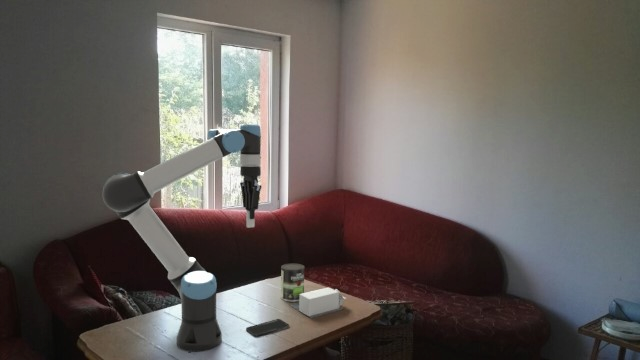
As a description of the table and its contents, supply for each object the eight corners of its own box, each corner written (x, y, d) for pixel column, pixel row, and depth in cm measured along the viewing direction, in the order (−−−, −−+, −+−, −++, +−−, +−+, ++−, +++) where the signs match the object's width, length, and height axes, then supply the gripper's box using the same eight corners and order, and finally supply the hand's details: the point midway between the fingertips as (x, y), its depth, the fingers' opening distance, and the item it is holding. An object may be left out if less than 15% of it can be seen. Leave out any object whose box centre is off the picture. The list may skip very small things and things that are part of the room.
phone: (244, 328, 174) (279, 318, 183) (244, 330, 174) (279, 321, 183) (255, 335, 168) (290, 325, 177) (255, 338, 168) (290, 328, 177)
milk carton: (298, 310, 192) (335, 301, 203) (308, 316, 186) (346, 306, 198) (299, 293, 191) (335, 285, 202) (309, 299, 186) (346, 290, 197)
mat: (311, 318, 186) (311, 317, 186) (289, 305, 199) (289, 304, 199) (342, 309, 195) (343, 308, 195) (320, 297, 208) (320, 296, 208)
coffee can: (308, 298, 207) (309, 267, 205) (288, 303, 201) (289, 271, 199) (295, 292, 215) (296, 261, 214) (276, 296, 209) (276, 265, 207)
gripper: (267, 166, 175) (267, 229, 178) (251, 163, 185) (251, 223, 188) (249, 167, 171) (249, 231, 173) (233, 164, 181) (233, 225, 184)
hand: (250, 226), depth 181 cm, fingers closed
